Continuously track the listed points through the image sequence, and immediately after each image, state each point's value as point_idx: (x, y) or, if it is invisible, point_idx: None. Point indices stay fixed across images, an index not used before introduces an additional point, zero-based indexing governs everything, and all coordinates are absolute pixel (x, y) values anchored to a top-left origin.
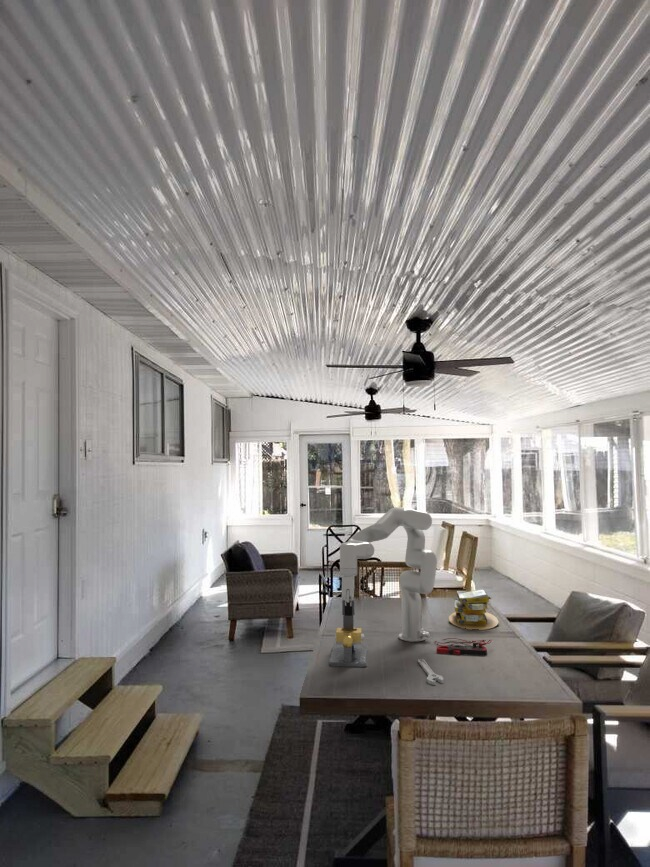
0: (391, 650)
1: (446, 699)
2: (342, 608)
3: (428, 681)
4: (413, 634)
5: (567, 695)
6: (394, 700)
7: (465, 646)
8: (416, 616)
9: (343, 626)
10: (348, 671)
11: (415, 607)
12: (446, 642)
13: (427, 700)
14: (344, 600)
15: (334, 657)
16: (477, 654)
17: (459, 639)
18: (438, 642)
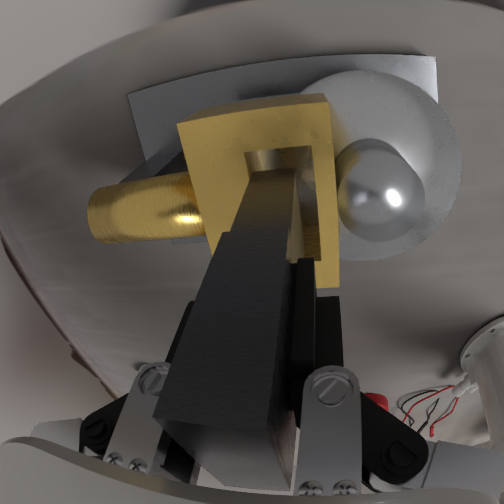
0: (390, 305)
1: (94, 370)
2: (198, 294)
3: (141, 367)
4: (475, 366)
5: None
6: (37, 303)
7: None
8: (486, 420)
9: (249, 183)
10: (113, 182)
11: (492, 446)
12: (436, 402)
13: (72, 348)
14: (189, 439)
15: (195, 95)
16: None
17: (445, 416)
18: (423, 399)
